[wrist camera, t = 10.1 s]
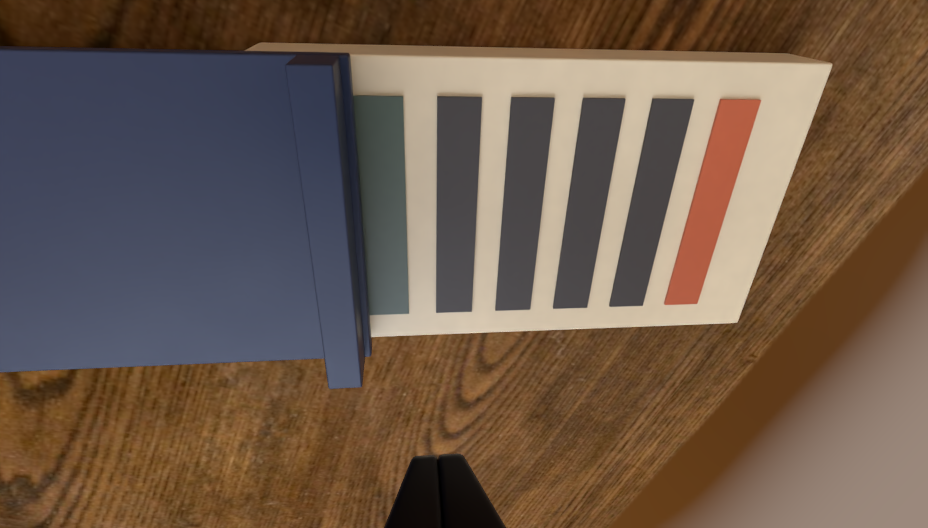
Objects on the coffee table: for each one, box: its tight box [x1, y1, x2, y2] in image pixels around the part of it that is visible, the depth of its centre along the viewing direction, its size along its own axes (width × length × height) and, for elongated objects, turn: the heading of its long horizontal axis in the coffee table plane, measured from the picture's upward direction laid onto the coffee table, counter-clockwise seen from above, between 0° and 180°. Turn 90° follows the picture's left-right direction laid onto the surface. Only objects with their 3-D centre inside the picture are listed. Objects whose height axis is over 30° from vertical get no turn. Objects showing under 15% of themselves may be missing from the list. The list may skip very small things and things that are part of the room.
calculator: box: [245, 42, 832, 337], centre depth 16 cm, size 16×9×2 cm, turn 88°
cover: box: [0, 46, 372, 389], centre depth 13 cm, size 16×9×2 cm, turn 88°
